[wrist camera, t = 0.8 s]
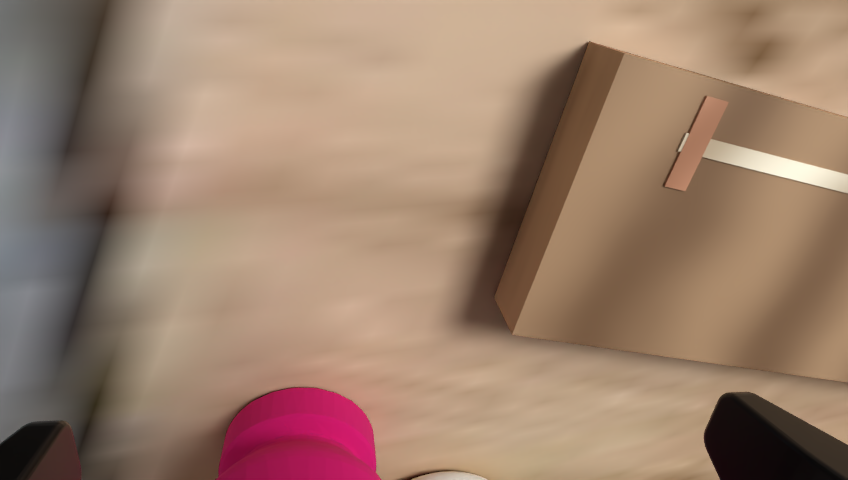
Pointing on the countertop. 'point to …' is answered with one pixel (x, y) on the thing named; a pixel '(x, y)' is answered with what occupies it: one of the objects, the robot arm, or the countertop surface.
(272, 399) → the pepper mill
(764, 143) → the plank
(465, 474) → the pill bottle
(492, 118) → the countertop surface
